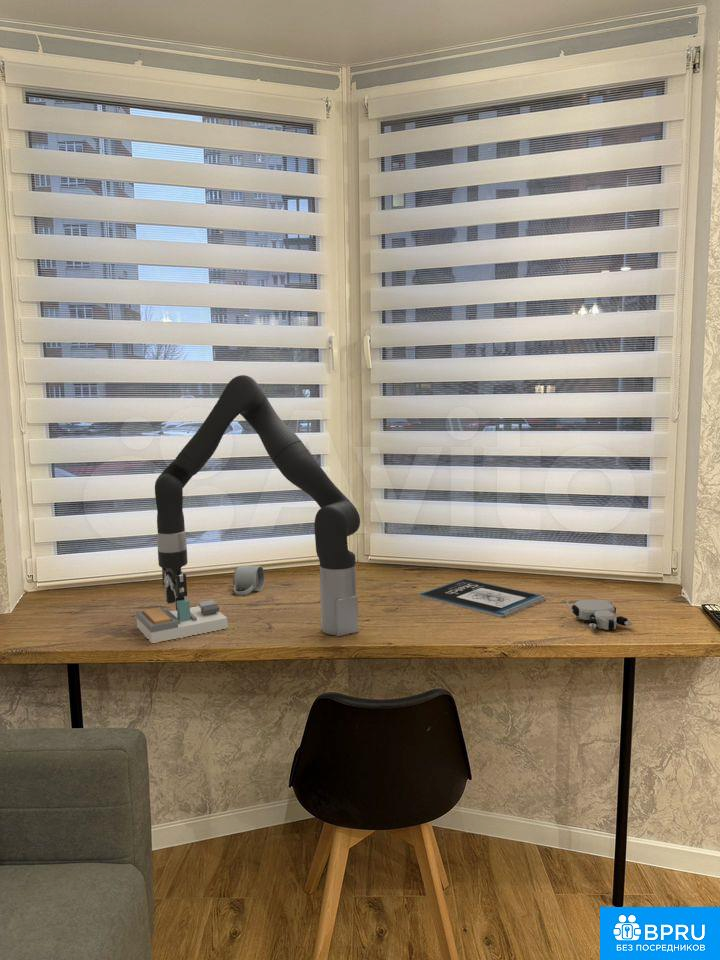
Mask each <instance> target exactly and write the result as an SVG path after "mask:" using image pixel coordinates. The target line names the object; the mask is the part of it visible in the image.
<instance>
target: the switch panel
mask: <svg viewBox="0 0 720 960" xmlns="http://www.w3.org/2000/svg"><path fill="white" fill-rule="evenodd" d="M159 608H160V609H161V610H162V611H163V612H164V613H165V614H166V615H167V616H168V617H170V618H171V621H170V622H165V623H160V624H155V625H154V624H153V623H152V622H151V621H150V620H149V619H148V618H147V617H146V616H145V615H144V614H143V610H139V611H136V628H139V630H140V631H141V632H142V633H143V634H144V635H145V636H146V637H147V638H148V639H149V641H150V642H151V643H155V642H159V641H164V640H169V639H176V638H181V639H184V638H183V637H186V636H191V637H193V636H192V635H196V636H198V635H197V634H201V635H203V634H202V633H205V634H208V633H207V632H210V633H212V632H211V631H215V632H217V631H216V630H220V631H222V630H221V629H225V630H227V629H226V628H228V629H229V626H228V624H229V623H228V617H227V616H226V615H224V614H223V613H222V612H220V611H219V612H215V613H210V614H204V613H201V609H200V607H199V605H197V606H192V607H190V620H185V621H180V620H179V619H178V617H177V611H176V609H175V610H169V609H165V608H164V607H163V606H162V607H159ZM139 630H138V631H139ZM140 631H139V632H140ZM141 632H140V633H141ZM142 633H141V634H142ZM143 634H142V635H143ZM144 635H143V636H144ZM145 636H144V637H145ZM186 638H187V637H186ZM176 640H177V639H176ZM149 641H148V642H149ZM150 642H149V643H150ZM151 643H150V644H151Z"/></svg>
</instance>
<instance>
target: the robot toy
mask: <svg viewBox="0 0 720 960" xmlns="http://www.w3.org/2000/svg"><path fill="white" fill-rule="evenodd" d="M566 604H567V606H568V607H569V609H570V611H571V613H572V614H574V615H575V616H576V617H577V618H578V619H580V620H582V621H588V627H589V628H592V629H596V628H598V629H599V630H608V631H609V630H612V629H613V630H616V629H617V624H618V625H620V626H622V627H625V626H626V627H627V626H628V627H630V626H632V625H633V622H631V621H630V620H628V618H626V617H624V616H621V615H620V616H617V615H615V614H616V612H617V607H616V605H614V604H613V602H612V601H611V599H608V600H604V599H599V598H598V599H595V598H594V599H593V598H592V599H591V598H590V599H588V598H587V599H582V600H577V601H575V602H573V605H572V606H571V605H570V604H569V602H568V601H566Z"/></svg>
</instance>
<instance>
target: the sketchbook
mask: <svg viewBox="0 0 720 960" xmlns="http://www.w3.org/2000/svg"><path fill="white" fill-rule="evenodd" d="M419 597H423V598H426V599H429V598H430V600H433V599H434V600H433V601H437V602H441V603H445V604H448V605H452V606H457V607H459V608H460V607H461V608H462V609H463V608H464V609H466V610H467V609H468V610H470V611H475V612H479V613H482V614H487V615H489V616H494V617H498V618H500V619H501V618H507V617H509V616H513V615H514V614H517V613H519V612H521V611H525V610H527V609H529V608H531V607H533V606H536V605H538V604H540V603H543V602H545V601H546V599H547V598H546V596H545V595H543V594H542V595H541V594H538V593H533V592H527V591H523V590H518V589H513V588H508V587H504V586H499V585H495V584H490V583H486V582H480V581H475V580H472V579H466V578H462V579H460V580H457V581H454V582H451V583H448V584H444V585H442V586H439V587H437V588H433V589H431V590H428V591H427V590H426V591H424V592H421V593H419Z"/></svg>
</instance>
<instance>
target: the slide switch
mask: <svg viewBox="0 0 720 960" xmlns="http://www.w3.org/2000/svg"><path fill="white" fill-rule="evenodd" d="M190 606H191V602H190V600H189V599H187V598H186V599H185V598H184V600H179V601H177V617H178V619H179V620H180V621H185V620H190V608H191V607H190Z"/></svg>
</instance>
